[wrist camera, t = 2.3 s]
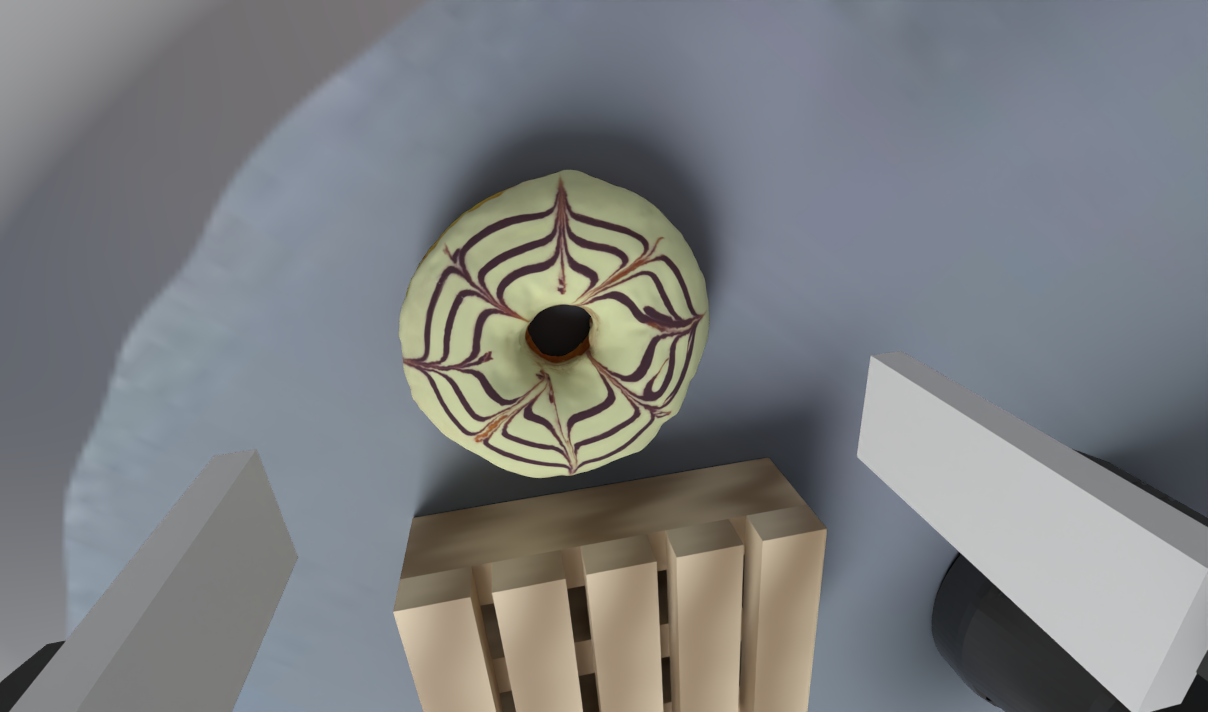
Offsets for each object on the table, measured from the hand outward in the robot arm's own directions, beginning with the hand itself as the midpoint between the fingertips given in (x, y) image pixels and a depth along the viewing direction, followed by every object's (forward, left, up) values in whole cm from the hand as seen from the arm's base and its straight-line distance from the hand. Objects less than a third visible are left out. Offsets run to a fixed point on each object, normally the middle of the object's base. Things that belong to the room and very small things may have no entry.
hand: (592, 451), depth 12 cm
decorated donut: (0, 0, -11) cm, 10 cm away
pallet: (-1, +14, -10) cm, 18 cm away
